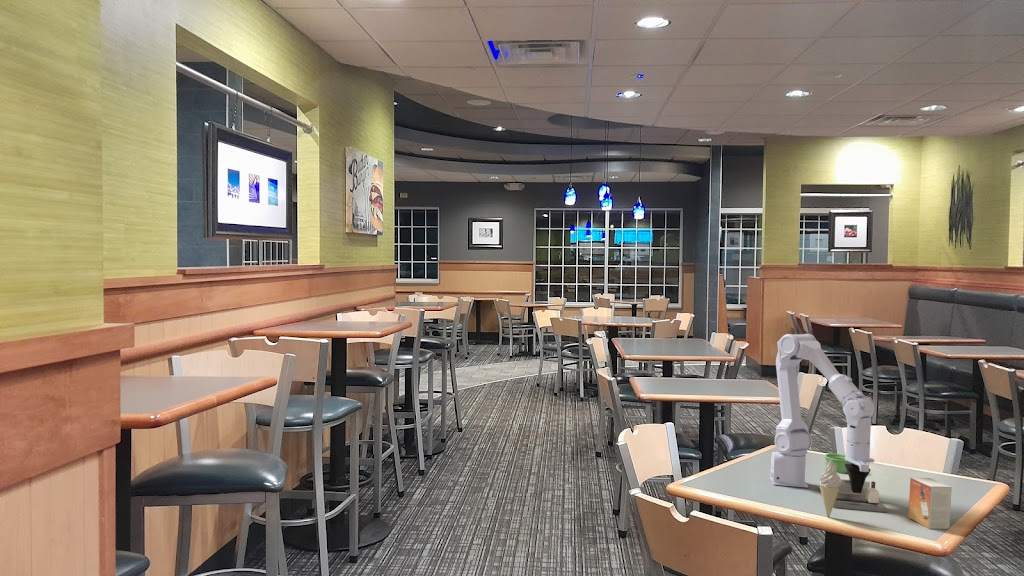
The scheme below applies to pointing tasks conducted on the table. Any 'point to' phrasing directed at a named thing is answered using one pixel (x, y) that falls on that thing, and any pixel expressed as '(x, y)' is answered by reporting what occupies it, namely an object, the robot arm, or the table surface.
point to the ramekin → (837, 462)
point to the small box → (930, 503)
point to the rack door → (846, 486)
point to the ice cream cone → (829, 486)
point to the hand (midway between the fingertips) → (856, 492)
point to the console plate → (857, 502)
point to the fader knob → (872, 495)
